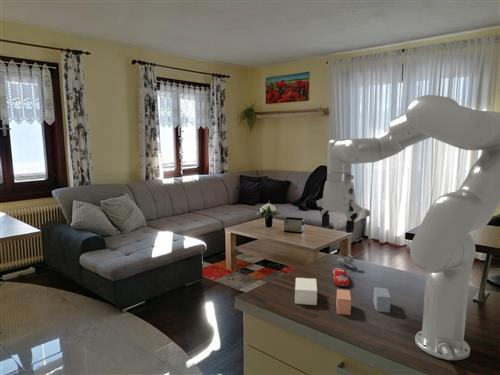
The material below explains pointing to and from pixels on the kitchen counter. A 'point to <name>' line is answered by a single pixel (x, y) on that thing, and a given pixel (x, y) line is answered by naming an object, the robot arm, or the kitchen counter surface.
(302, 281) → the cream brick
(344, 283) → the race car
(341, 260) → the elephant figurine
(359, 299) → the kitchen counter surface
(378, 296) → the slate brick
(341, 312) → the terracotta brick
